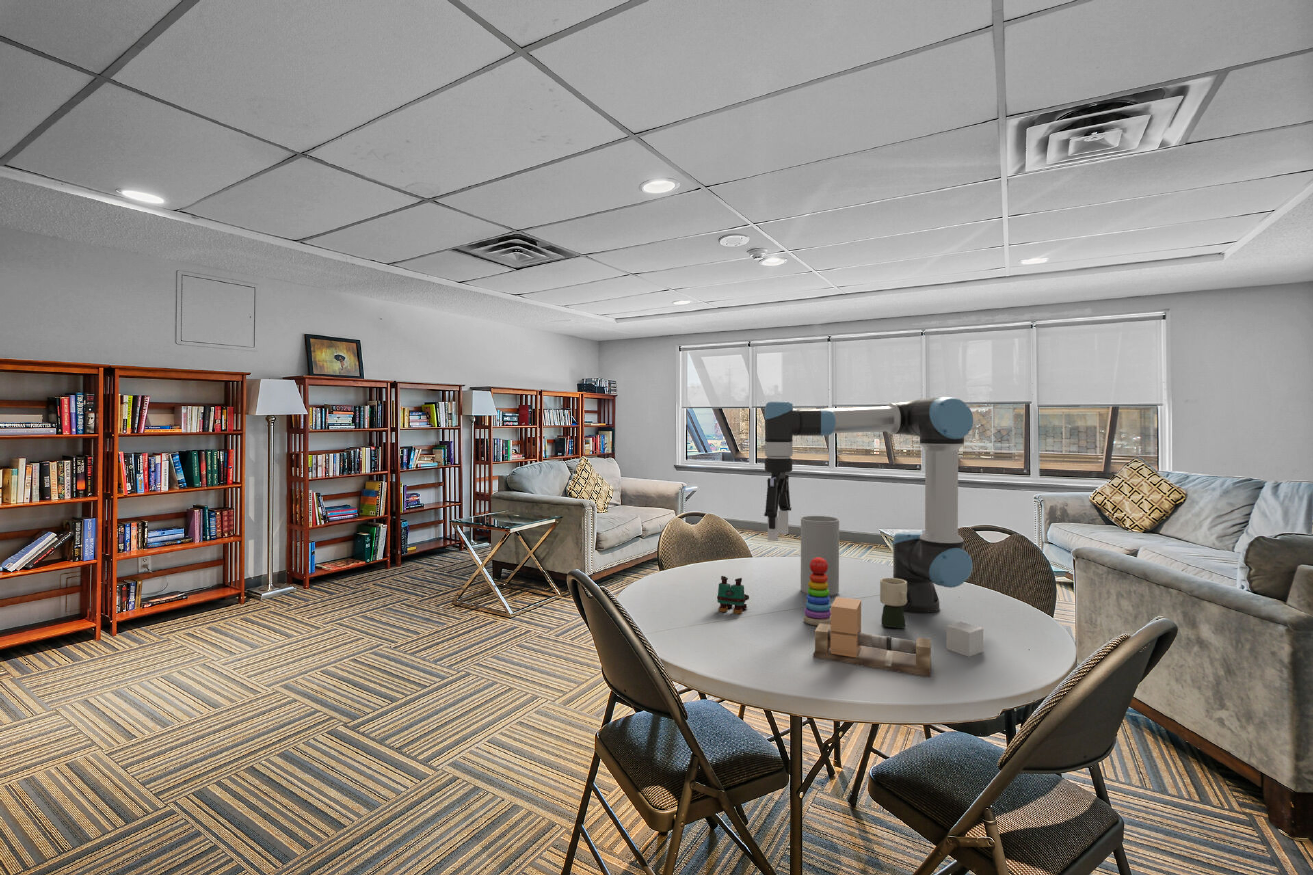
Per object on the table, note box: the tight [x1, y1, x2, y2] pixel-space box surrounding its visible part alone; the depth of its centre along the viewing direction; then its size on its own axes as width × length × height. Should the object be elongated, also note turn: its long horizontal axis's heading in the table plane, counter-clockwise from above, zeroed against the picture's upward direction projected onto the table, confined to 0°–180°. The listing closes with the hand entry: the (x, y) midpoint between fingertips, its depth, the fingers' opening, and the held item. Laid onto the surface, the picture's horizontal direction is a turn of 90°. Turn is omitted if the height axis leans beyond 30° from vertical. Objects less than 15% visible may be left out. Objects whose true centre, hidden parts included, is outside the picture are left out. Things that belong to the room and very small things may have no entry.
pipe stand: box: [812, 623, 932, 678], centre depth 144 cm, size 26×10×6 cm, turn 64°
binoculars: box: [716, 575, 750, 615], centre depth 183 cm, size 9×11×10 cm
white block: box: [946, 621, 984, 657], centre depth 150 cm, size 6×6×6 cm
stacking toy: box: [803, 557, 832, 627], centre depth 171 cm, size 8×8×19 cm
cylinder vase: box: [800, 515, 840, 597], centre depth 201 cm, size 12×12×25 cm
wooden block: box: [830, 596, 862, 657], centre depth 147 cm, size 6×8×12 cm
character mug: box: [879, 577, 907, 629], centre depth 167 cm, size 11×7×13 cm, turn 11°
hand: (778, 536), depth 165 cm, fingers open, 10 cm apart
